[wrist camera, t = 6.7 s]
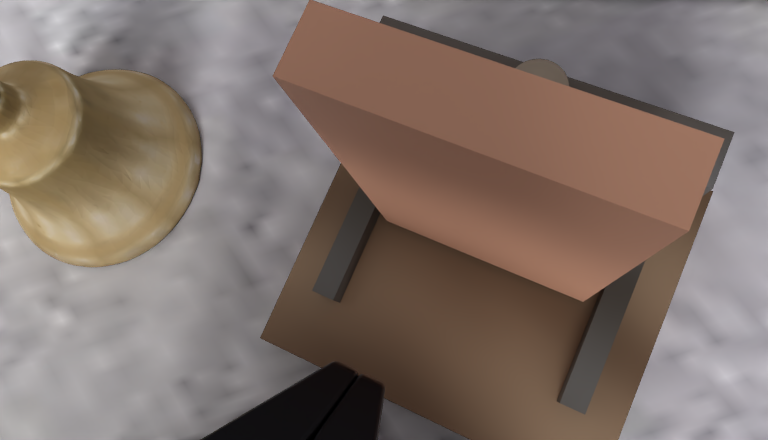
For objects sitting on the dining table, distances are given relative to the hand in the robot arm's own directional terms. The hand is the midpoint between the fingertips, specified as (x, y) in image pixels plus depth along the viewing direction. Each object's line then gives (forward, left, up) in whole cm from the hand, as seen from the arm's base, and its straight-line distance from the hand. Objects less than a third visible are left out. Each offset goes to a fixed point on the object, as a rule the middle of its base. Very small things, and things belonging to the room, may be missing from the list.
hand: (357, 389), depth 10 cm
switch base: (+3, -3, -14) cm, 14 cm away
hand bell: (+12, +10, -14) cm, 21 cm away
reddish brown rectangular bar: (+3, -3, -12) cm, 13 cm away
